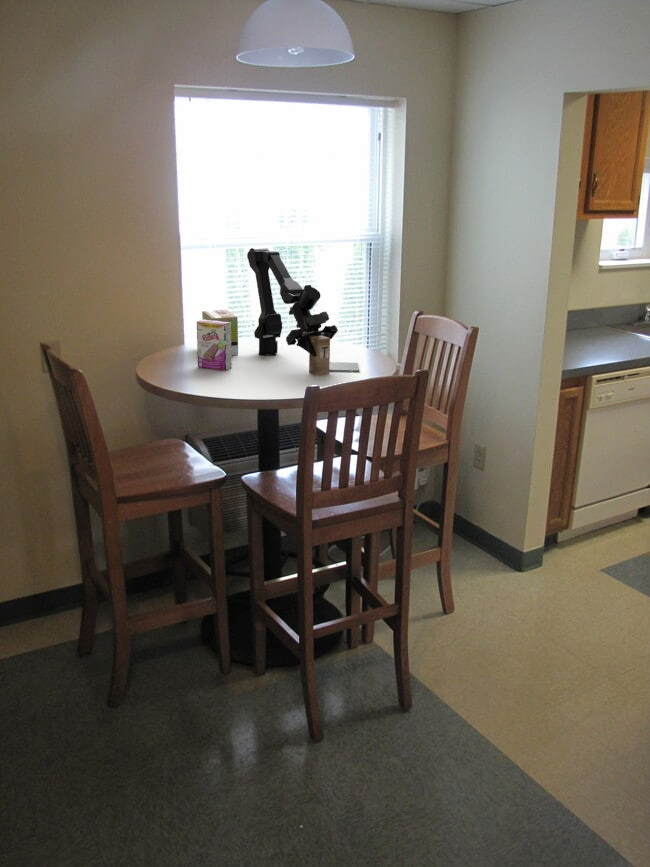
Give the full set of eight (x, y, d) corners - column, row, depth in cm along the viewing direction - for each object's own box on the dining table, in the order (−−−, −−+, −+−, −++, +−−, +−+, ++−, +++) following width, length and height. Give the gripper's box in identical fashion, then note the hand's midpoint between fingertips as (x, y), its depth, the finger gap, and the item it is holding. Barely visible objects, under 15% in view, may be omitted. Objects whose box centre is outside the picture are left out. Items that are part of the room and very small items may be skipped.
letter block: (309, 372, 264) (309, 336, 260) (320, 370, 267) (321, 335, 262) (318, 376, 260) (319, 339, 256) (330, 374, 262) (330, 338, 258)
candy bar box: (197, 368, 266) (195, 321, 261) (203, 364, 270) (202, 318, 265) (226, 371, 263) (225, 324, 257) (232, 368, 267) (231, 321, 262)
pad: (327, 371, 266) (327, 369, 266) (327, 363, 276) (327, 362, 276) (359, 372, 266) (359, 370, 266) (357, 364, 276) (357, 362, 276)
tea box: (202, 348, 295) (201, 310, 290) (227, 346, 298) (227, 308, 294) (213, 357, 282) (212, 317, 277) (239, 355, 286) (238, 315, 281)
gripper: (290, 306, 253) (309, 345, 249) (335, 301, 264) (354, 339, 259) (277, 325, 262) (295, 363, 257) (321, 320, 272) (339, 356, 268)
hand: (321, 355), depth 260 cm, fingers closed on letter block, 5 cm apart
